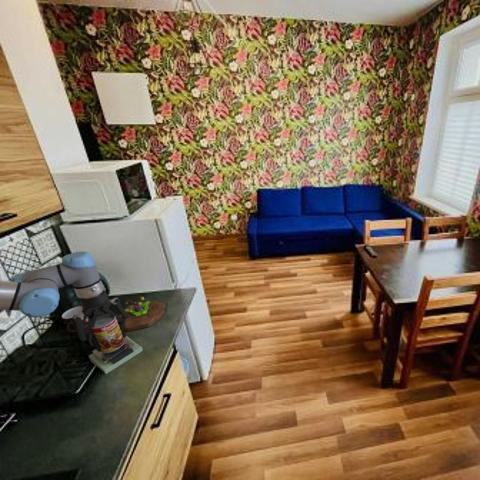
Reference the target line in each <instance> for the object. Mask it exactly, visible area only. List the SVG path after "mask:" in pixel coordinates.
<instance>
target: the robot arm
mask: <svg viewBox="0 0 480 480" xmlns="http://www.w3.org/2000/svg"><path fill="white" fill-rule="evenodd" d="M10 280H11V281H8V280H0V311H19V312H20V313H21V314H23V316H26V317H29V318H41V317H45V316H48V315H50V314H51V313H53V312H54V311H55V310H56V309H57V308H58V306H59V301H60V298H61V297H60V293H59V288H64V287H66V286H70V285H71V286H72V288H73V290H74V292H75V294H76V297H77V298H78V302H79V304H80V306H82V313H80V314H79V315H74V316H73V318H74V319H75V321H76V324H77V330H78V335H77V336H78V339H79V340H80V341H81V342H83V343H84V342H86V341H87V342H88V344H89V345H90V346H91V347H94V350H95V349H96V350H97V351H98V352H101V349H100V346H99V344H98V342H97V339H96V337H94V336H93V333H94V331H93V329H92V328H93V327H95V321H96V319H97V318H98V317H99V316H102V315H106V314H109V315H111V316H112V317H115V316H116V319H117V320H118V321H119V322H118V324H119V327H120V330H121V332H122V335H123V337H124V338H125V337H126V336H127V335H126V331H124V329H125V328H126V326H125V319H128V318H129V317H128V315H127V314H126V312H125V310H124V309H125V308H124V307H123V306H122V304H121V299H120V298H118V297H117V296H115V297H113V298H112V299H109V297H108V294H107V291H106V290H105V286H104V284H103V282H102V278H101V277H100V274H99V271H98V268H97V265H96V262H95V261H94V258H93V256H92V254H91V253H90V252H89V251H74V252H71V253H69V254H66V255H64V256H63V257H62V258H61V263H57V264H54V265H48V266H45V267H40V268H37V269H32V270H26V271H24V272H20V273H17V274H14V275H13V276H11V279H10ZM111 305H114V307H115V308H116V309H117V311H118V313H119V315H120V314H121V315H122V317H121V318H120V317H119V315H117V314H116V313H115V312H113V311H112V310H110V307H111ZM84 315H86V316H88V325H87V331H86V333H85V330H84V324H83V321H82V320H83V319H84V318H83V317H84Z"/></svg>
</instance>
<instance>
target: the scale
mask: <svg viewBox="0 0 480 480" xmlns="http://www.w3.org/2000/svg"><path fill="white" fill-rule="evenodd" d="M125 338H127V339H128V340H129V341H131V342H132V343H133V344H134V345H135V346H133V347H131V348H129V349H127V350H126V351H124V352H122V353H121V354H119V355H117V356H116V357H114V358H112V359H111V360H110V361H108V362H107V363H105V364H104V363H103V362H102V361H101V360H100V359H99V358H98V357H97V356H96V355H94V354H93V353H91V354H89V355H88V358H89V360H90V362H91V363H92V364H93V365H94V366H96V367H98V369H100V370H101V371H102V372H103V373H104V374H105V375H107V374H108V373H111V371H113V370H115V369H116V368H118V367H119V366H121V365H123V364H124V363H126V362H127V361H129V360H130V359H133V358H134V357H135V356H137V355H138V354H140V353H141V352H143V351H144V350H143V347H142V346H141V345H139V344H138V342H135V341H134V340H132V339H131V338H130V337H129V336H127V335H126V337H125Z"/></svg>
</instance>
